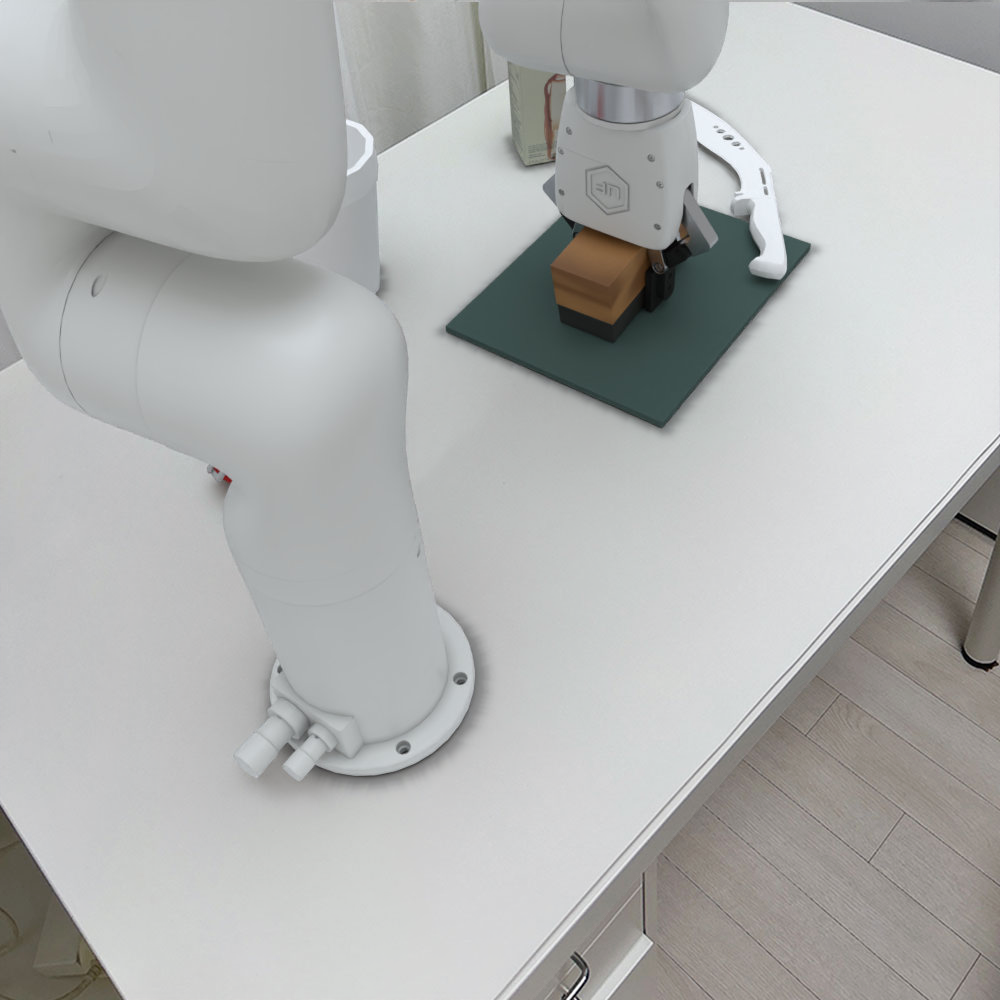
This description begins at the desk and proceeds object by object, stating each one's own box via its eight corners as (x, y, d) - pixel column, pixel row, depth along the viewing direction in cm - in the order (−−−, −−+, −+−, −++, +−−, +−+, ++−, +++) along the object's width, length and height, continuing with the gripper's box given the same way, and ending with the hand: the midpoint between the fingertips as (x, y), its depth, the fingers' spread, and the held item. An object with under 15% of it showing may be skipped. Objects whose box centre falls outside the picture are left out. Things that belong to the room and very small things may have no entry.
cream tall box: (570, 159, 103) (567, 56, 95) (524, 168, 102) (517, 66, 94) (555, 129, 106) (551, 28, 98) (511, 138, 105) (503, 37, 98)
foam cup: (421, 274, 93) (399, 138, 83) (349, 337, 89) (317, 201, 79) (337, 238, 97) (307, 104, 87) (265, 297, 93) (224, 163, 83)
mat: (662, 428, 80) (662, 422, 80) (445, 331, 89) (445, 326, 88) (810, 249, 92) (811, 243, 91) (606, 178, 100) (606, 173, 100)
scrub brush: (614, 343, 85) (608, 286, 80) (559, 321, 88) (549, 265, 83) (692, 247, 90) (691, 188, 85) (638, 229, 92) (633, 170, 88)
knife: (676, 86, 108) (757, 84, 107) (675, 102, 109) (755, 100, 108) (690, 266, 87) (791, 265, 86) (689, 283, 88) (788, 282, 88)
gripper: (496, 75, 77) (513, 279, 91) (714, 144, 70) (695, 354, 84) (556, 27, 81) (563, 230, 95) (769, 87, 73) (743, 298, 88)
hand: (626, 286), depth 89 cm, fingers closed on scrub brush, 5 cm apart
